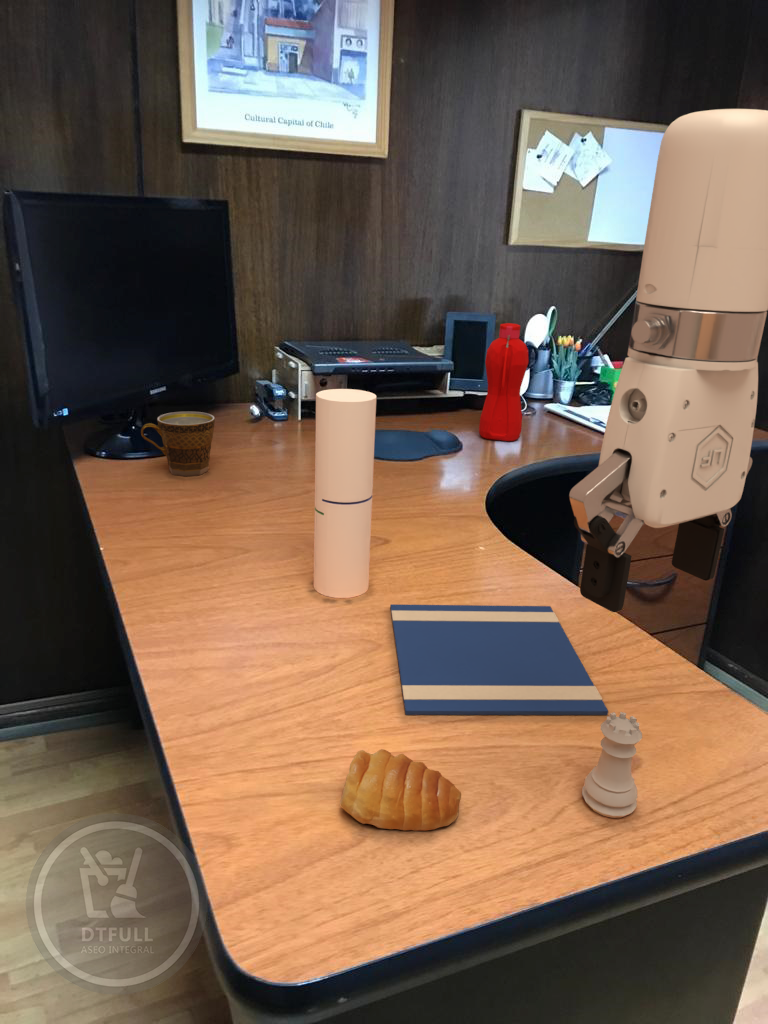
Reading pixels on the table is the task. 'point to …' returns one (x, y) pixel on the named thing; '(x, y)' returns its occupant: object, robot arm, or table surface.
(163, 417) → the ceramic cup
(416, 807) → the pastry
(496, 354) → the water bottle
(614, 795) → the rook chess piece
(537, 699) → the towel
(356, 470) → the cylindrical container
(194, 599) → the table surface
